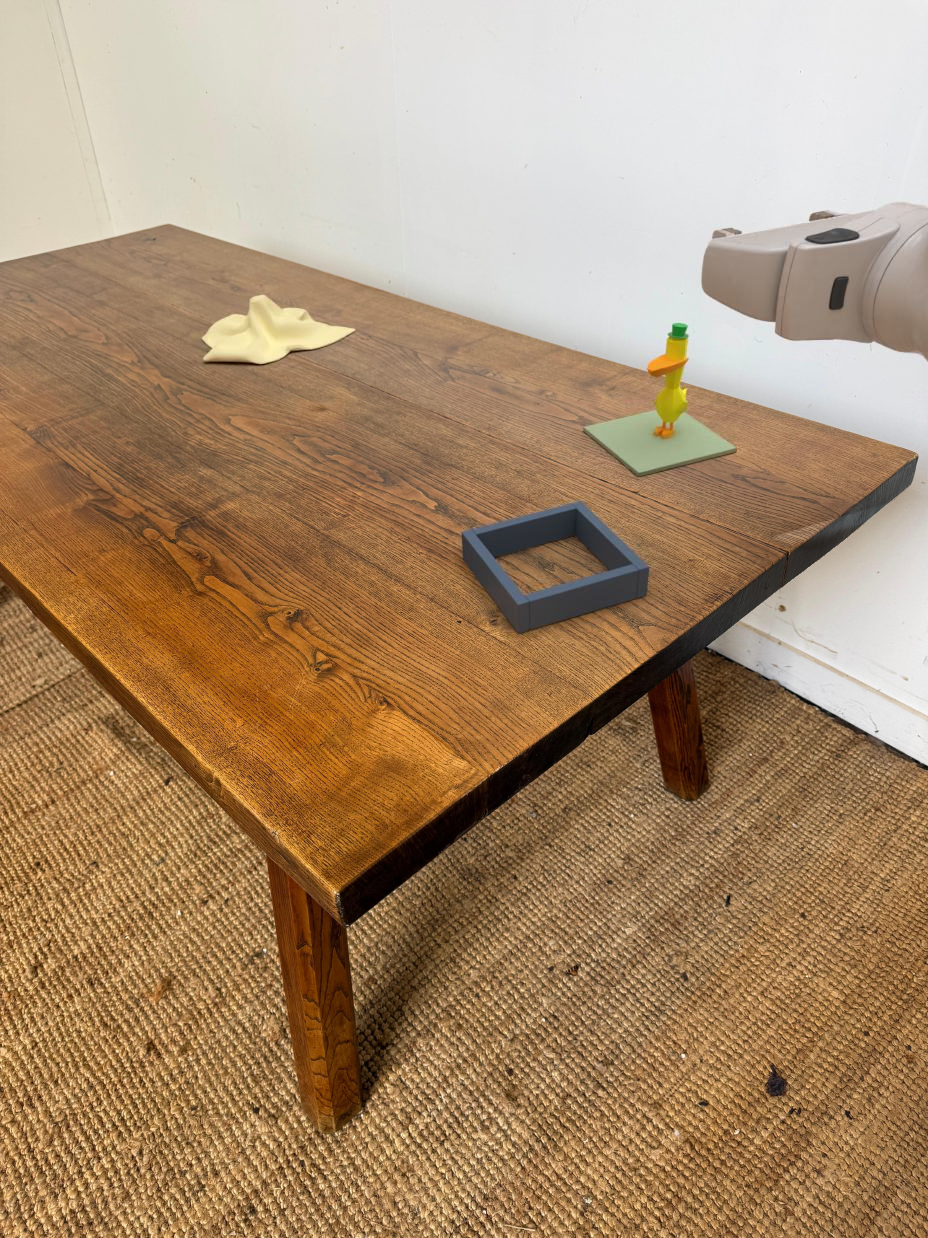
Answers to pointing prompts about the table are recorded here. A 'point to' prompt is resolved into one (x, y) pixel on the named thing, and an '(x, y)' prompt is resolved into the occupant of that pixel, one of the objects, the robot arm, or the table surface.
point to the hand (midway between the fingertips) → (768, 230)
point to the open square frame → (565, 599)
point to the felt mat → (657, 442)
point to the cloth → (267, 333)
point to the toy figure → (671, 379)
